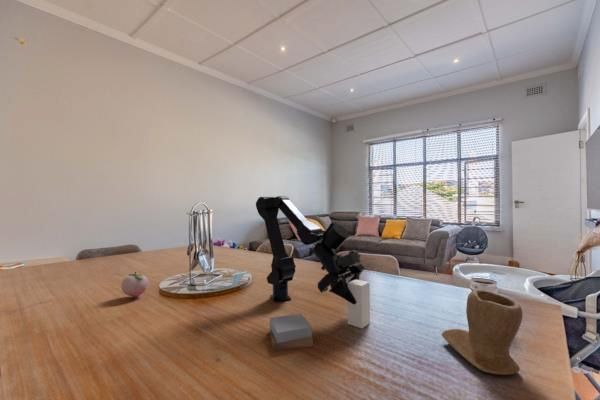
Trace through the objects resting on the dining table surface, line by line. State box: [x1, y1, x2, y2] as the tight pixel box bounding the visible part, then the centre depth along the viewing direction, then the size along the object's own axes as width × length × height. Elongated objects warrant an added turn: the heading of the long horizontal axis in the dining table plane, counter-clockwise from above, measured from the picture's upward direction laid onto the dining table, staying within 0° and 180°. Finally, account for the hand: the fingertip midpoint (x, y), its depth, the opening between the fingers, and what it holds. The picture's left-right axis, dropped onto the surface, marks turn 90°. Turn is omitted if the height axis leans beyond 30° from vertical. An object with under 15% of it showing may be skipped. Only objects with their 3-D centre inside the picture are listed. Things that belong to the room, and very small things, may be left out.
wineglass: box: [469, 277, 499, 294], centre depth 80 cm, size 7×7×12 cm
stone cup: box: [441, 290, 523, 376], centre depth 62 cm, size 15×12×15 cm
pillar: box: [347, 279, 371, 329], centre depth 80 cm, size 5×5×12 cm
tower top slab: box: [269, 313, 313, 343], centre depth 72 cm, size 9×9×2 cm
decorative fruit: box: [121, 271, 150, 298], centre depth 106 cm, size 9×8×10 cm
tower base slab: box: [269, 327, 314, 351], centre depth 72 cm, size 10×10×2 cm
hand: (359, 301), depth 80 cm, fingers closed on pillar, 5 cm apart
